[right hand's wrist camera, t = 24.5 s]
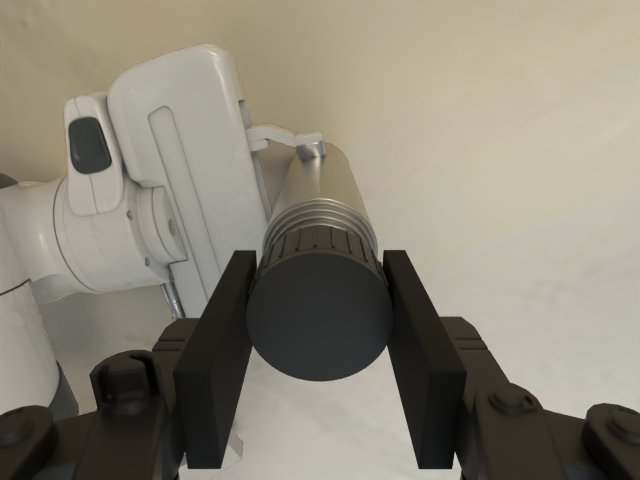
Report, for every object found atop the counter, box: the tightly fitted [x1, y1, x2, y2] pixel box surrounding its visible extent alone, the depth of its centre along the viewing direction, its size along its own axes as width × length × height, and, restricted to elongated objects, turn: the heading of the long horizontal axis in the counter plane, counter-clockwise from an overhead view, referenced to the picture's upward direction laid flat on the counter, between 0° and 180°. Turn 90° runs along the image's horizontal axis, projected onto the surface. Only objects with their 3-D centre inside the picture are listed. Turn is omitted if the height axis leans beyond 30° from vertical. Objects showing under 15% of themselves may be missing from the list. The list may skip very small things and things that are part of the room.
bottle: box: [262, 143, 378, 257], centre depth 23 cm, size 5×5×22 cm
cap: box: [246, 225, 394, 381], centre depth 14 cm, size 5×5×2 cm
